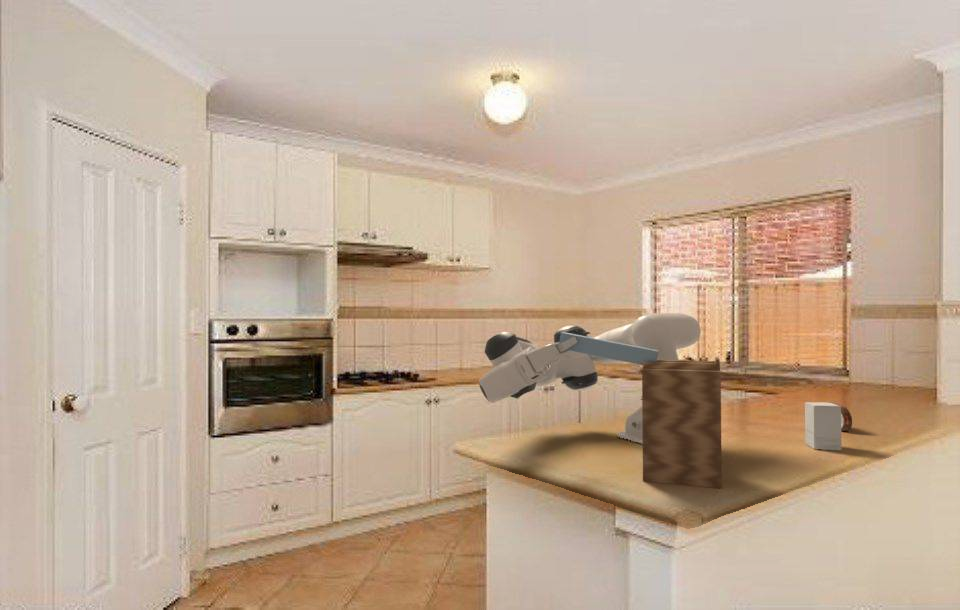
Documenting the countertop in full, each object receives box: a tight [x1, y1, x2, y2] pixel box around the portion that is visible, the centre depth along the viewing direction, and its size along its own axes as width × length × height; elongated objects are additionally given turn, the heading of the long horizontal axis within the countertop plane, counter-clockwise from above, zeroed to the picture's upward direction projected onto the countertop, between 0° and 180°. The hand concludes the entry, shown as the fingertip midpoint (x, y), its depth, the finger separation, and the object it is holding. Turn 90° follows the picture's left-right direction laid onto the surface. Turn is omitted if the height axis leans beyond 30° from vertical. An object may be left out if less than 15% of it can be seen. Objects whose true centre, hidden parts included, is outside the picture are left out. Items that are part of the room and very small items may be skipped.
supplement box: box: [804, 401, 842, 451], centre depth 168 cm, size 7×7×13 cm
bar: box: [559, 332, 659, 366], centre depth 145 cm, size 24×4×4 cm, turn 69°
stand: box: [641, 356, 723, 489], centre depth 139 cm, size 17×14×28 cm
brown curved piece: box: [826, 401, 853, 432], centre depth 194 cm, size 15×3×8 cm, turn 179°
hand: (578, 338), depth 147 cm, fingers closed on bar, 4 cm apart
